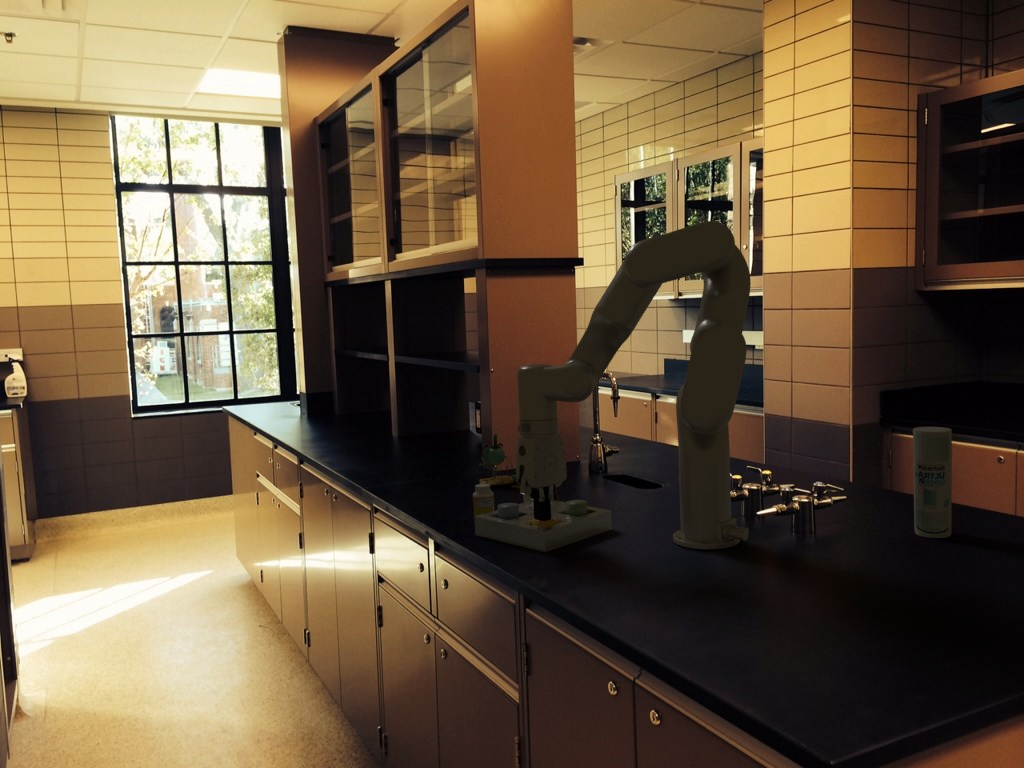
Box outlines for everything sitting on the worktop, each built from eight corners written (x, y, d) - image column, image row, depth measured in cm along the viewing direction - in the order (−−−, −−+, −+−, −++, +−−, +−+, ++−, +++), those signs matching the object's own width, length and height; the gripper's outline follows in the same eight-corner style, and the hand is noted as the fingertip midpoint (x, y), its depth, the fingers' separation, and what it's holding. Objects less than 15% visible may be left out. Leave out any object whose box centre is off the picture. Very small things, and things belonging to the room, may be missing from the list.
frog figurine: (500, 493, 210) (493, 435, 210) (468, 490, 226) (462, 436, 226) (532, 487, 215) (525, 431, 215) (499, 484, 230) (493, 431, 230)
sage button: (592, 520, 170) (591, 501, 170) (578, 525, 167) (577, 505, 167) (576, 517, 173) (575, 498, 173) (562, 522, 170) (561, 503, 170)
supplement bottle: (480, 519, 184) (478, 482, 183) (498, 520, 182) (496, 483, 181) (470, 524, 180) (468, 487, 179) (489, 526, 178) (487, 487, 177)
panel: (612, 529, 170) (611, 510, 170) (545, 552, 157) (544, 531, 156) (542, 515, 185) (541, 497, 184) (475, 535, 171) (474, 516, 171)
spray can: (953, 530, 157) (952, 427, 156) (951, 539, 152) (950, 432, 150) (915, 527, 161) (914, 426, 159) (912, 536, 155) (911, 431, 153)
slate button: (524, 523, 171) (523, 504, 170) (508, 528, 168) (507, 509, 167) (509, 520, 174) (508, 501, 173) (494, 525, 171) (493, 506, 170)
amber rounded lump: (559, 538, 163) (558, 518, 163) (544, 543, 160) (543, 523, 160) (543, 534, 167) (542, 515, 166) (528, 539, 164) (527, 520, 163)
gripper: (525, 434, 154) (529, 530, 155) (578, 424, 164) (581, 514, 166) (497, 431, 159) (502, 524, 161) (551, 421, 169) (554, 509, 171)
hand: (542, 519), depth 163 cm, fingers closed
